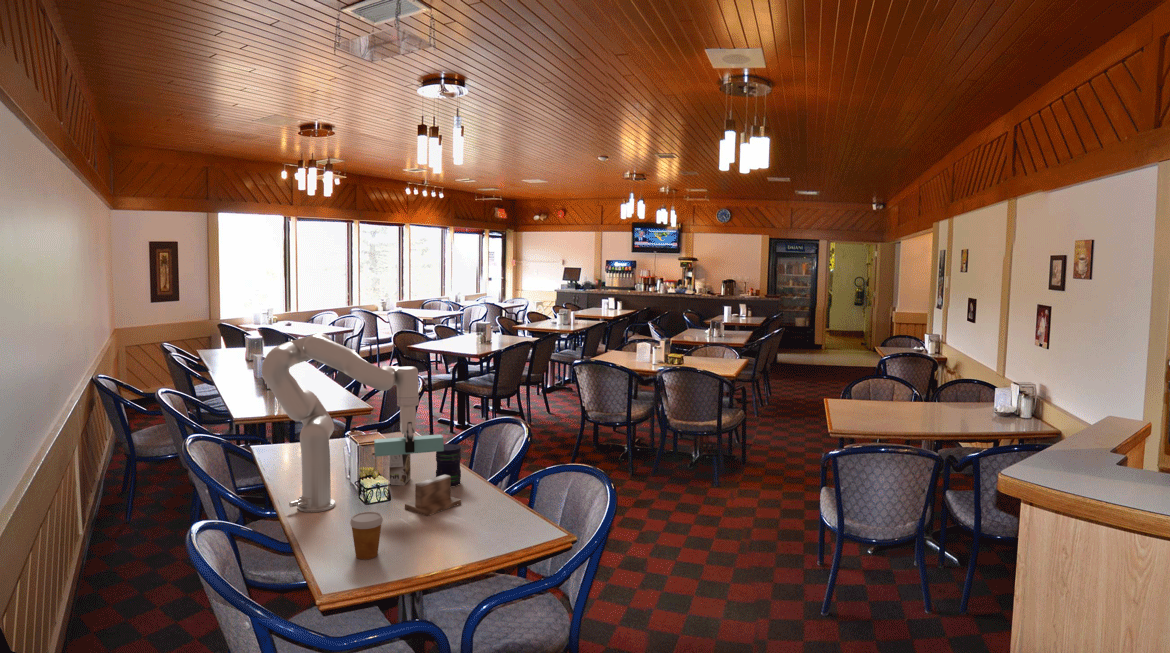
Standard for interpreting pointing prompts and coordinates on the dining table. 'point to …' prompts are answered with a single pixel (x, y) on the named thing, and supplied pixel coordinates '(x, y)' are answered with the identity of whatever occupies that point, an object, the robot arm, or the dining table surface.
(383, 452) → the teal bar
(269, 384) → the robot arm
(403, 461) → the coffee box
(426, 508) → the walnut ridge stand
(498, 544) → the dining table surface
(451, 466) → the storage jar
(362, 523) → the disposable coffee cup
